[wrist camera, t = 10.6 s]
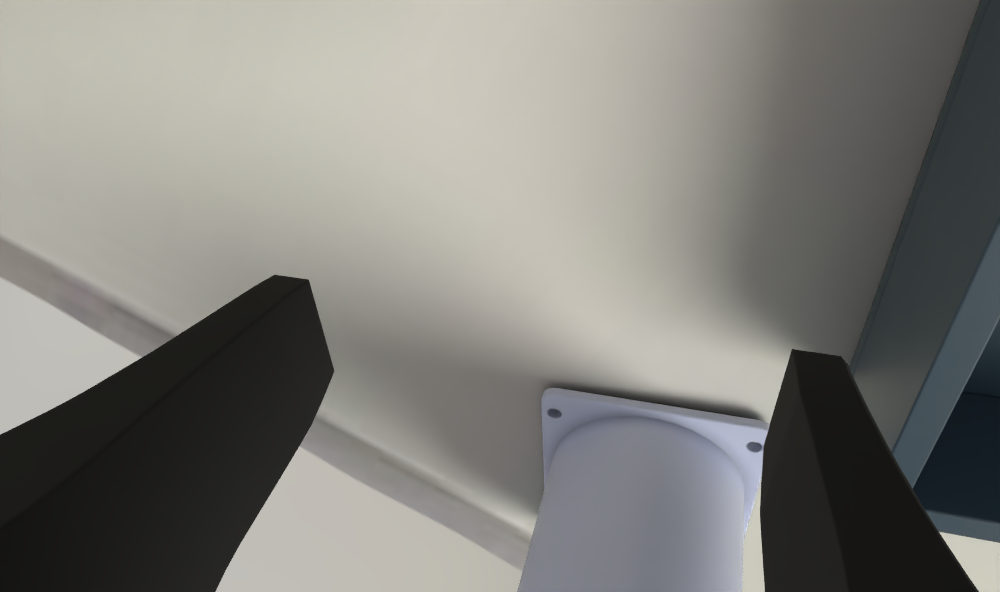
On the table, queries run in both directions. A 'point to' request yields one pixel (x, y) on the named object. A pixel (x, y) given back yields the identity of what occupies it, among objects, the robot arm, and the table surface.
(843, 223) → the table surface
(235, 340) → the robot arm
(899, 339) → the tub
